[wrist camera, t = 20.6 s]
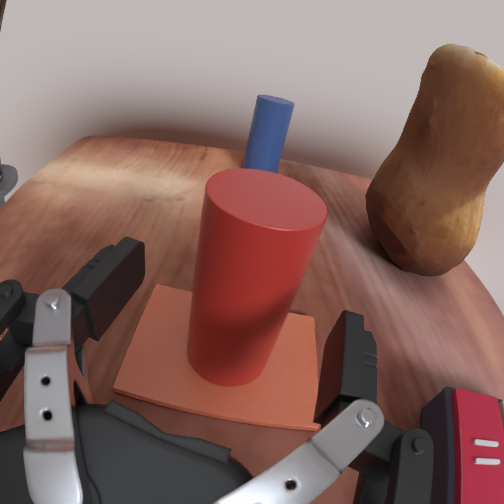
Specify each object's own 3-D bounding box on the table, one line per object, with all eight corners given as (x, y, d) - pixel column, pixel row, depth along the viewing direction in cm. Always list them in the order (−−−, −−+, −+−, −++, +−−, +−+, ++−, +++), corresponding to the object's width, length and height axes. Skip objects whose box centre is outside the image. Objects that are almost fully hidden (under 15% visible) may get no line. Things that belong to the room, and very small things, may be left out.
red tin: (178, 376, 17) (191, 210, 10) (196, 315, 21) (218, 160, 14) (263, 393, 17) (335, 242, 11) (268, 330, 21) (321, 184, 15)
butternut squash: (459, 276, 34) (542, 102, 19) (419, 315, 26) (538, 66, 11) (384, 217, 42) (445, 54, 27) (324, 232, 34) (396, 13, 20)
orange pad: (114, 391, 15) (112, 387, 15) (156, 288, 23) (156, 283, 22) (315, 431, 16) (319, 427, 16) (311, 321, 23) (314, 316, 23)
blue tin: (239, 174, 42) (256, 97, 36) (243, 162, 46) (258, 93, 40) (275, 182, 42) (295, 106, 36) (276, 169, 46) (293, 101, 40)
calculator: (536, 399, 14) (549, 560, 2) (504, 427, 17) (504, 576, 4) (451, 377, 16) (441, 601, 4) (416, 410, 18) (390, 602, 6)
